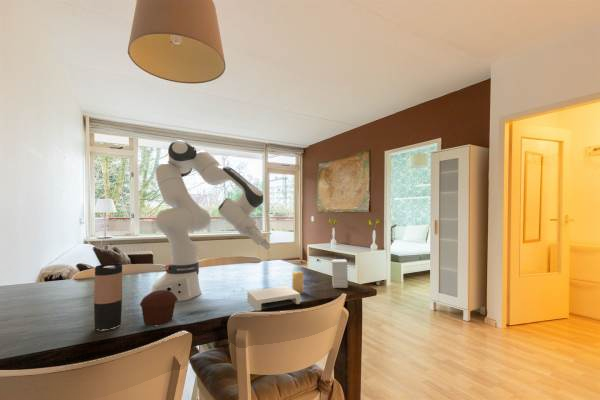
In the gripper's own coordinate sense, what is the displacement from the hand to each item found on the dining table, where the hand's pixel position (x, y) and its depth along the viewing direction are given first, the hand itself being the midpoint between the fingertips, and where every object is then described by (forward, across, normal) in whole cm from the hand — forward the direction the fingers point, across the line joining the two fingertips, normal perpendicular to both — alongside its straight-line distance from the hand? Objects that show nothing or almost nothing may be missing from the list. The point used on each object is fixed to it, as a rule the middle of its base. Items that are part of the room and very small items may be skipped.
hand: (268, 247), depth 132 cm
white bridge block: (+16, -16, +14) cm, 26 cm away
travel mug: (-23, -33, +52) cm, 65 cm away
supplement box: (+39, +5, -10) cm, 41 cm away
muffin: (-12, -30, +42) cm, 52 cm away
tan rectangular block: (+24, -3, +5) cm, 25 cm away
